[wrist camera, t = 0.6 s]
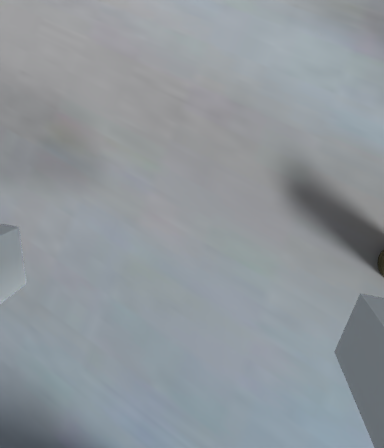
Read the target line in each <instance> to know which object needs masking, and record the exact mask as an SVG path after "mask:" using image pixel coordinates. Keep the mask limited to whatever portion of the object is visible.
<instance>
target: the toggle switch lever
mask: <svg viewBox="0 0 384 448" xmlns="http://www.w3.org/2000/svg"><path fill="white" fill-rule="evenodd" d="M378 268H379V271H380V273H381V274H382V276H383V277H384V250H383V251H382V252H381V254H380V255H379V258H378Z"/></svg>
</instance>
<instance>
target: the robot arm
mask: <svg viewBox="0 0 384 448" xmlns="http://www.w3.org/2000/svg"><path fill="white" fill-rule="evenodd" d="M26 284H27V283H26V275H25V268H24V260H23V253H22V245H21V237H20V230H19V227H17V226H11V225H6V224H0V304H1V303H2V302H3V301H5V300H6V299H7V298H9V297H10V296H11V295H13V294H14V293H15V292H17V291H18V290H19V289H21V288H22V287H23V286H25V285H26ZM335 354H336V357H337V359H338V361H339V364H340V366H341V369H342V371H343V373H344V376H345V378H346V381H347V383H348V385H349V388H350V390H351V392H352V395H353V397H354V400H355V402H356V404H357V407H358V409H359V411H360V414H361V416H362V419H363V421H364V423H365V426H366V428H367V431H368V433H369V435H370V438H371V440H372V442H373V445H374V447H375V448H384V298H381V297H375V296H370V295H365V294H360V295H359V297H358V300H357V302H356V304H355V307H354V309H353V311H352V313H351V316H350V318H349V320H348V322H347V325H346V327H345V329H344V331H343V334H342V336H341V338H340V341H339V343H338V345H337V347H336V350H335Z"/></svg>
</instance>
